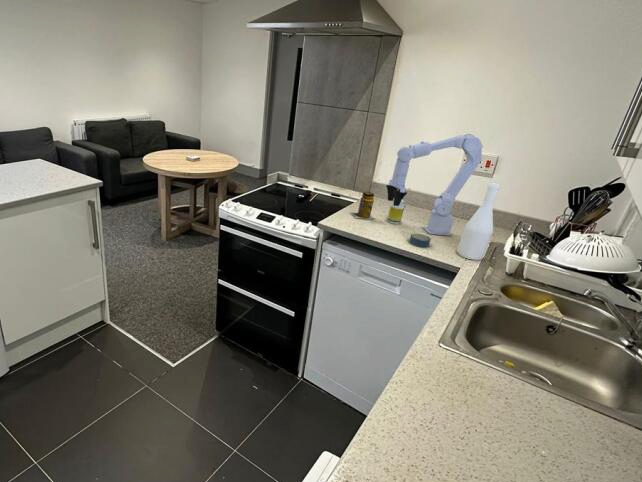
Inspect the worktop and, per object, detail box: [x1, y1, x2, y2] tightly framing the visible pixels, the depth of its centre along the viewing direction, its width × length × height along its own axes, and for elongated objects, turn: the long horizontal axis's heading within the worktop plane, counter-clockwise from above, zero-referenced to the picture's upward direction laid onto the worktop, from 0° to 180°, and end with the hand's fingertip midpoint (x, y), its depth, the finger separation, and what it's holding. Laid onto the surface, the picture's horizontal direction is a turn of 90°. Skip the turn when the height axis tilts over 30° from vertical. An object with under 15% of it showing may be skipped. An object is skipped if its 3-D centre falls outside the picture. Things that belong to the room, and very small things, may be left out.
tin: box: [408, 233, 431, 248], centre depth 165 cm, size 8×8×3 cm
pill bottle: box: [386, 199, 405, 225], centre depth 186 cm, size 6×6×11 cm
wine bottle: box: [457, 182, 501, 261], centre depth 152 cm, size 10×10×30 cm
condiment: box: [351, 191, 375, 220], centre depth 190 cm, size 7×8×12 cm
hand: (393, 203), depth 181 cm, fingers open, 7 cm apart
